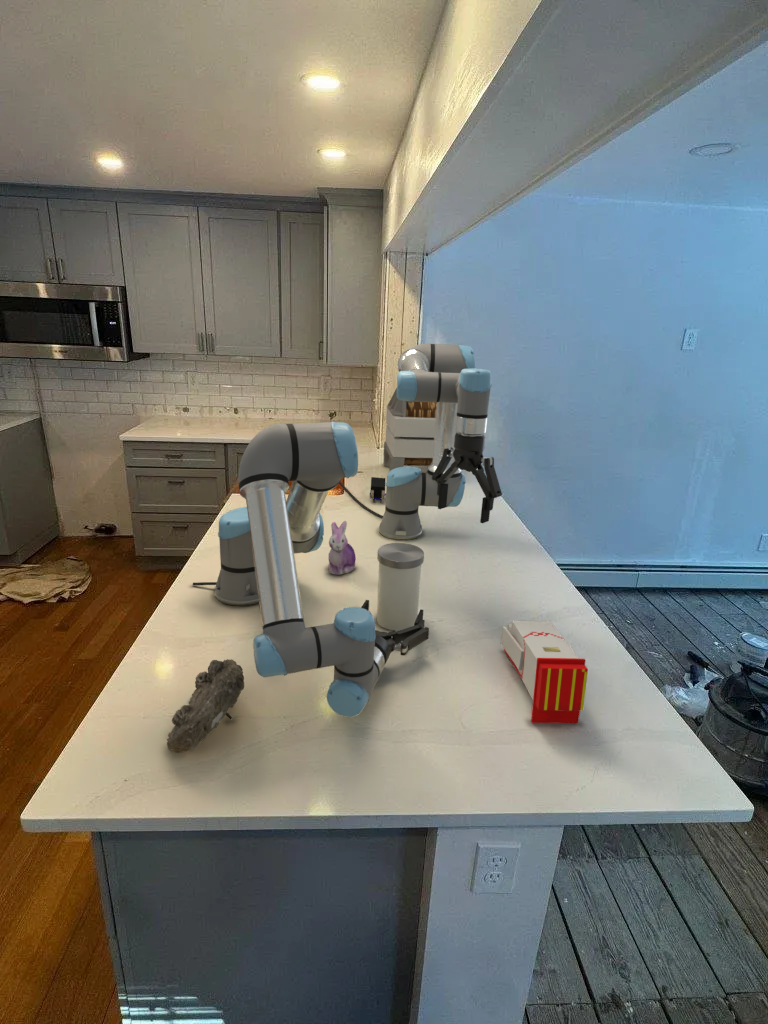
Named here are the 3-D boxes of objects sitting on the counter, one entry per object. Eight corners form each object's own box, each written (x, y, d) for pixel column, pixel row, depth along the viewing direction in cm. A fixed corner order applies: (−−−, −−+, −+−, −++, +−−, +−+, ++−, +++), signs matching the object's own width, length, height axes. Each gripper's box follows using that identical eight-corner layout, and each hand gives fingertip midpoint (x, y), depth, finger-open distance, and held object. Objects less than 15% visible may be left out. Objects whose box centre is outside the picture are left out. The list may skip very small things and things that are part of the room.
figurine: (333, 578, 165) (334, 530, 160) (320, 564, 173) (320, 518, 168) (362, 573, 169) (364, 526, 164) (348, 559, 177) (349, 514, 172)
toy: (547, 606, 135) (596, 665, 106) (541, 658, 138) (589, 729, 108) (496, 604, 134) (532, 664, 105) (492, 657, 137) (526, 729, 108)
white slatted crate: (382, 463, 289) (386, 382, 275) (445, 464, 293) (451, 384, 279) (390, 482, 257) (394, 392, 243) (460, 483, 261) (468, 394, 247)
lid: (368, 555, 140) (368, 548, 139) (405, 546, 146) (405, 539, 146) (395, 573, 131) (395, 565, 131) (433, 562, 138) (433, 555, 137)
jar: (368, 616, 146) (371, 550, 139) (401, 606, 151) (405, 542, 145) (392, 635, 138) (396, 565, 132) (425, 623, 144) (430, 556, 137)
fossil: (192, 660, 117) (244, 628, 112) (224, 691, 120) (276, 661, 115) (142, 746, 98) (202, 712, 93) (182, 779, 101) (242, 748, 96)
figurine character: (385, 507, 229) (385, 492, 243) (386, 490, 226) (386, 476, 239) (369, 507, 229) (369, 491, 242) (369, 490, 226) (370, 475, 239)
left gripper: (312, 661, 122) (345, 614, 142) (425, 685, 116) (443, 632, 136) (312, 631, 120) (345, 587, 139) (428, 653, 114) (446, 604, 133)
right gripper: (522, 440, 134) (512, 524, 141) (440, 423, 150) (434, 499, 157) (505, 444, 129) (495, 531, 136) (421, 426, 145) (416, 505, 152)
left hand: (394, 609), depth 137 cm, fingers open, 13 cm apart
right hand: (462, 514), depth 147 cm, fingers open, 13 cm apart
